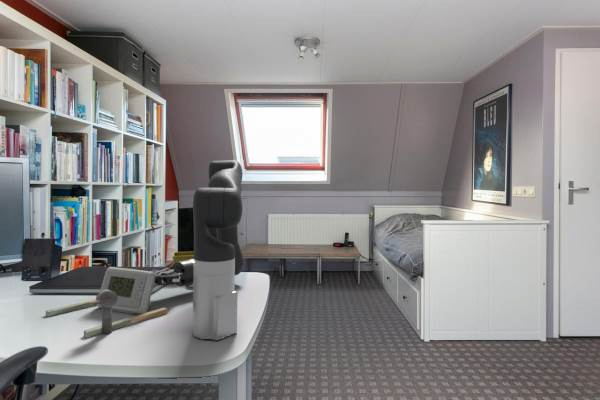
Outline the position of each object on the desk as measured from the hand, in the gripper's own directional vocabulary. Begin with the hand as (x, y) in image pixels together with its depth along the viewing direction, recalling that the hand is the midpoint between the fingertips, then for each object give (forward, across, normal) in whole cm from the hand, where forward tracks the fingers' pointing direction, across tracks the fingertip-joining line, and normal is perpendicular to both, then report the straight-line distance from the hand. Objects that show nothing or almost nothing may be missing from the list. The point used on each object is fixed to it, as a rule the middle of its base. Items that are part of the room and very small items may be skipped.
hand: (137, 282), depth 101 cm
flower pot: (-28, -16, +7) cm, 33 cm away
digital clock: (+3, 0, +7) cm, 8 cm away
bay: (+8, +1, +7) cm, 11 cm away
